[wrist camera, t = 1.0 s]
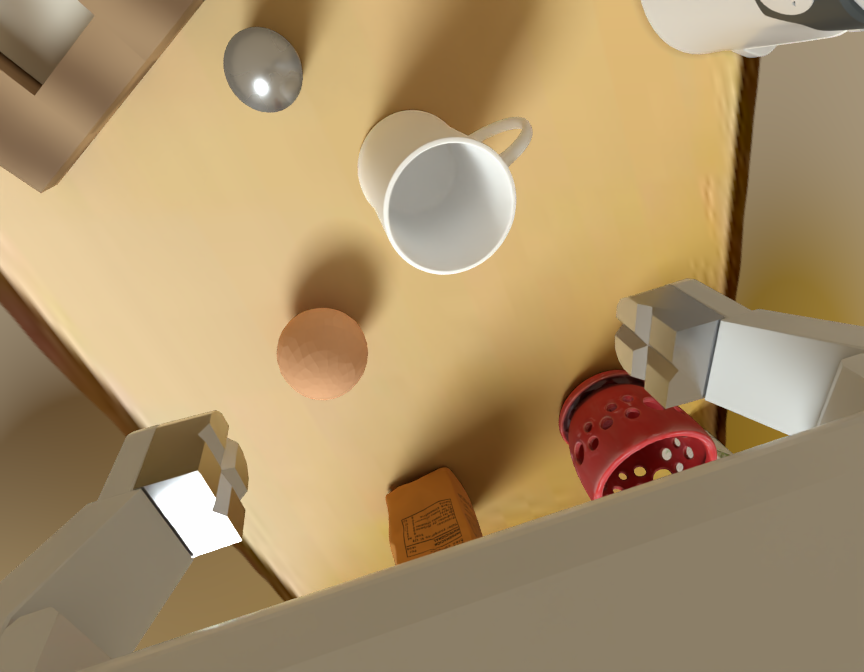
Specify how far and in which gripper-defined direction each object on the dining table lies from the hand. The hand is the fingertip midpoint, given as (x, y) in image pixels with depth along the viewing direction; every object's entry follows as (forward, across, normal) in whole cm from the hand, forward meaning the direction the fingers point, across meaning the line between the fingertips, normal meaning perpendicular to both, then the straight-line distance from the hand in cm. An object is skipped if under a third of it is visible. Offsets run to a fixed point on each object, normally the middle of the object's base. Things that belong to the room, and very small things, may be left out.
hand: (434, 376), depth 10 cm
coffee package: (+31, 0, +42) cm, 53 cm away
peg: (+31, +3, -5) cm, 31 cm away
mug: (+31, -7, +3) cm, 32 cm away
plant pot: (+31, -22, +34) cm, 51 cm away
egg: (+31, +5, +15) cm, 35 cm away
